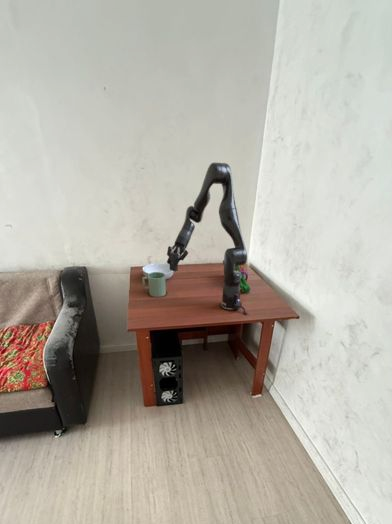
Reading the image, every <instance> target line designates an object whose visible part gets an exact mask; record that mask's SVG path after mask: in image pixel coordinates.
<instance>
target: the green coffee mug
mask: <svg viewBox="0 0 392 524" xmlns="http://www.w3.org/2000/svg"><path fill="white" fill-rule="evenodd" d="M145 280H147V282H148V283H147V284H148V286H146V281H145ZM166 281H167V279H166V278H165V274H164V273H161V272H153V273H150V274H148V277H146V276H142V288H143V289H144V290H148V295H149V296H151V297H154V298H160V297H164V296H165V295H166V294H167V282H166Z"/></svg>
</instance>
